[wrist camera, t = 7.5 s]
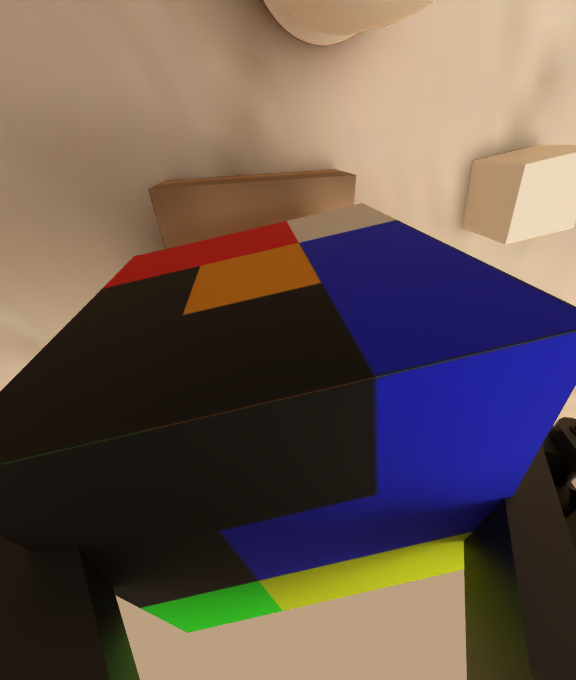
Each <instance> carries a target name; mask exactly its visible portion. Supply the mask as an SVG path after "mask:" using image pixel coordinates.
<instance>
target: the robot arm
mask: <svg viewBox="0 0 576 680" xmlns="http://www.w3.org/2000/svg"><path fill="white" fill-rule="evenodd" d="M574 478H576V419H574V418H567V417H564V418H561V419H559V420H558V421H557V422H556V424H555V425H554V426H552V428H551V430H550V431H549V433H548V435H547V437H546V439H545V440H544V442H543V444H542V446H541V447H540V449H539V451H538V453H537V455H536V456H535V458H534V460H533V462H532V463H531V465H530V467H529V469H528V471H527V472H526V474H525V476H524V478H523V479H522V481H521V483H520V485H519V487H518V488H517V490H516V492H515V494H514V495H513V497H507V498H504V499H503V500H502V501H501V502H500V503H499V504H498V505H497V506H496V507H495V508H494V510H493V511H492V512H491V513H490V514H489V515H488V516H487V517H486V518H485V519H484V520H483V521H482V522H481V523H480V524H479V525H478V527H477V528H476V529H475V530H474V531H473V532H472V533H471V534H470V535H469V536H468V537H467V538H466V539H465V540H464V576H465V616H466V656H467V657H466V658H467V680H576V488H575V487H574V486H573V484H572V483H571V481H572V480H573V479H574ZM0 680H140V679H139V675H138V672H137V669H136V665H135V662H134V659H133V655H132V651H131V648H130V645H129V641H128V638H127V634H126V631H125V627H124V624H123V620H122V617H121V613H120V610H119V607H118V603H117V600H116V596H115V593H114V589H113V587H112V586H111V585H110V584H109V582H108V581H107V580H106V579H105V578H104V576H103V575H102V574H101V573H100V571H99V570H98V569H97V568H96V567H95V565H94V564H93V563H92V562H91V561H90V559H89V558H88V557H87V556H86V555H85V553H84V552H83V551H82V550H81V548H80V547H79V546H70V547H61V548H52V549H43V550H34V551H30V550H28V549H26V548H24V547H22V546H20V545H18V544H16V543H14V542H12V541H10V540H8V539H6V538H5V537H3V536H1V535H0Z"/></svg>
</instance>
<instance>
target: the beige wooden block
mask: <svg viewBox="0 0 576 680" xmlns="http://www.w3.org/2000/svg"><path fill="white" fill-rule="evenodd" d="M575 222H576V145H535V146H531V147H527V148H523V149H519V150H515V151H511V152H506V153H502V154H498V155H494V156H490V157H486V158H482V159H478V160H474V161H473V163H472V169H471V175H470V182H469V188H468V194H467V201H466V207H465V213H464V220H463V226H462V228H464V229H466V230H469V231H472V232H474V233H477V234H479V235H482V236H485V237H487V238H490V239H493V240H495V241H498V242H501V243H503V244H509V243H513V242H517V241H521V240H526V239H530V238H534V237H538V236H542V235H546V234H550V233H554V232H559V231H563V230H567V229H571V228H574V225H575Z"/></svg>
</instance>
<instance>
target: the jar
mask: <svg viewBox="0 0 576 680" xmlns="http://www.w3.org/2000/svg"><path fill="white" fill-rule="evenodd" d="M263 1H264V3H265V5H266V6H267V8H268V9H269V11H270V12H271V14H272V15H273V16H274V18H275V19H276V20H277V21H278V23H279V24H280V25H281V26H282V27H283V28H284V29H285V30H287V31H288V32H289V33H290V34H292V35H293V36H295V37H296V38H298V39H300V40H302V41H304V42H307V43H310V44H315V45H332V44H336V43H339V42H342V41H344V40H346V39H348V38H350V37H352V36H353V35H355V34H358V33H362V32H365V31H368V30H371V29H375V28H379V27H383V26H386V25H389V24H392V23H394V22H397V21H399V20H402V19H404V18H406V17H408V16H410V15H412V14H414V13H416V12H418V11H420V10H421V9H423V8H425V7H427V6H428V5H430V4H431V3H433V2H434V1H436V0H263Z"/></svg>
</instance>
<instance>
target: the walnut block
mask: <svg viewBox="0 0 576 680" xmlns="http://www.w3.org/2000/svg"><path fill="white" fill-rule="evenodd" d="M355 182H356V175H354V174H350V173H347V172H343V171H339V170H336V169H332V170H317V171H302V172H287V173H272V174H257V175H242V176H226V177H211V178H196V179H181V180H166V181H164V182H162V183H160V184H158V185H156V186H154V187H152V188H150V189H148V190H149V194H150V197H151V201H152V204H153V207H154V211H155V214H156V218H157V221H158V224H159V228H160V231H161V235H162V238H163V242H164V245H165V248H166V249H168V248H173V247H177V246H181V245H185V244H190V243H194V242H198V241H203V240H207V239H211V238H215V237H220V236H224V235H228V234H233V233H237V232H241V231H245V230H250V229H254V228H258V227H263V226H267V225H271V224H275V223H280V222H284V221H288V220H293V219H297V218H301V217H305V216H310V215H314V214H318V213H322V212H327V211H331V210H335V209H340V208H344V207H348V206H352V205H354V195H355Z"/></svg>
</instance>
